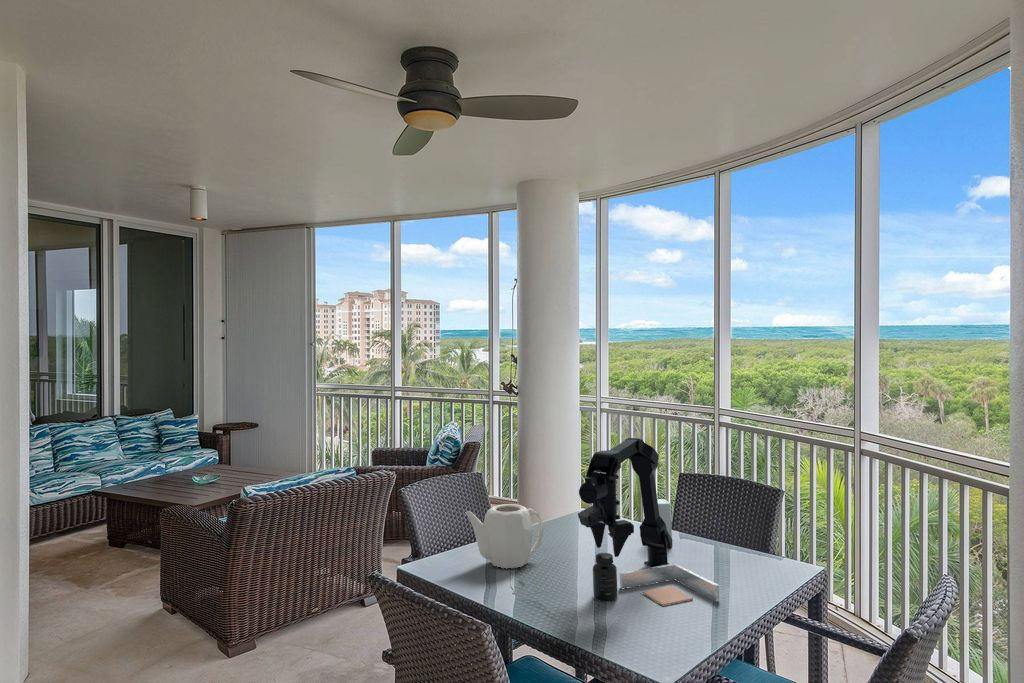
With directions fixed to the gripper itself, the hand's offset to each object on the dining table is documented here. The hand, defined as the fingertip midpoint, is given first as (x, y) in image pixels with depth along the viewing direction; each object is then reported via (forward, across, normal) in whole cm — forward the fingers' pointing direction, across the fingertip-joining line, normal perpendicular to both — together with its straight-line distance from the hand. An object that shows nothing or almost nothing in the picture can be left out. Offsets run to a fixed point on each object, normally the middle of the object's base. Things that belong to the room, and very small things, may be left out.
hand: (607, 552), depth 173 cm
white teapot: (+13, -40, -15) cm, 44 cm away
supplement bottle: (+13, -1, 0) cm, 13 cm away
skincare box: (+13, -33, +44) cm, 57 cm away
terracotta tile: (+13, +7, +15) cm, 21 cm away
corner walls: (+13, +6, +16) cm, 22 cm away
